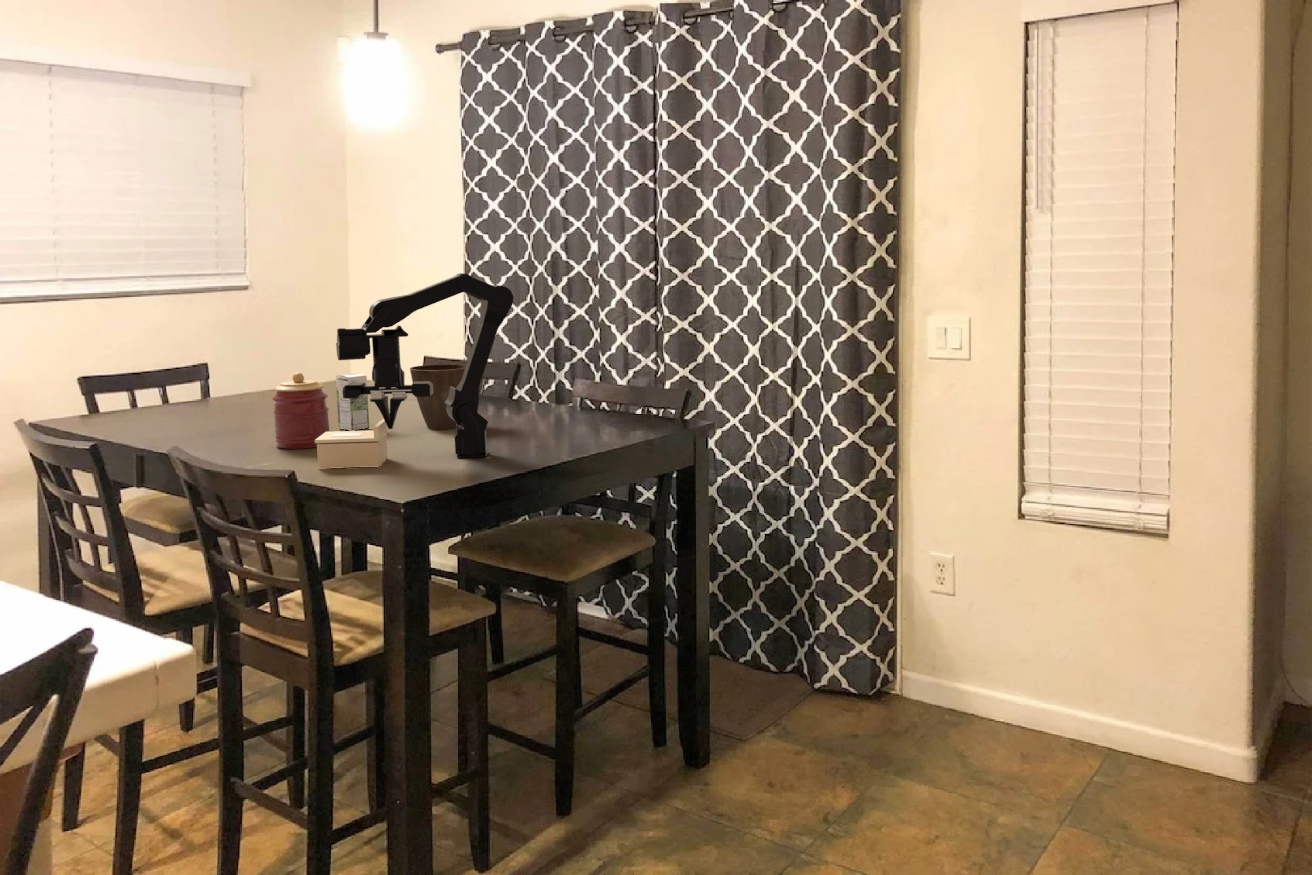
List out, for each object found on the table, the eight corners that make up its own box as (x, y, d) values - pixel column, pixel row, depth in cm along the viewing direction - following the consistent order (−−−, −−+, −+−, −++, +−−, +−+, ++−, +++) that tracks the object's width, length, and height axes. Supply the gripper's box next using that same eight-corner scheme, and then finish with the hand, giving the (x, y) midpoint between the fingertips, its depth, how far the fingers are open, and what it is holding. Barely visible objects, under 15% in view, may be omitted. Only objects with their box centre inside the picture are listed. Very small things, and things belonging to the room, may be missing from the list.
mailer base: (387, 458, 248) (386, 434, 247) (379, 467, 238) (377, 442, 237) (329, 460, 247) (327, 436, 246) (318, 469, 237) (316, 444, 236)
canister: (263, 448, 264) (257, 375, 261) (298, 439, 276) (293, 369, 273) (308, 450, 259) (303, 376, 256) (342, 441, 271) (337, 370, 268)
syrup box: (356, 426, 293) (353, 372, 290) (370, 428, 289) (366, 374, 286) (338, 429, 288) (334, 375, 286) (352, 432, 285) (348, 376, 282)
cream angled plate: (387, 432, 247) (386, 418, 247) (379, 441, 237) (378, 426, 236) (326, 434, 246) (325, 420, 246) (314, 443, 236) (313, 428, 235)
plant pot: (424, 422, 297) (421, 363, 295) (478, 422, 295) (475, 363, 292) (405, 432, 283) (401, 370, 280) (460, 432, 281) (457, 370, 278)
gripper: (434, 353, 247) (438, 421, 250) (350, 355, 246) (355, 424, 249) (428, 358, 236) (431, 430, 239) (340, 360, 235) (344, 432, 238)
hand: (390, 428), depth 242 cm, fingers closed
